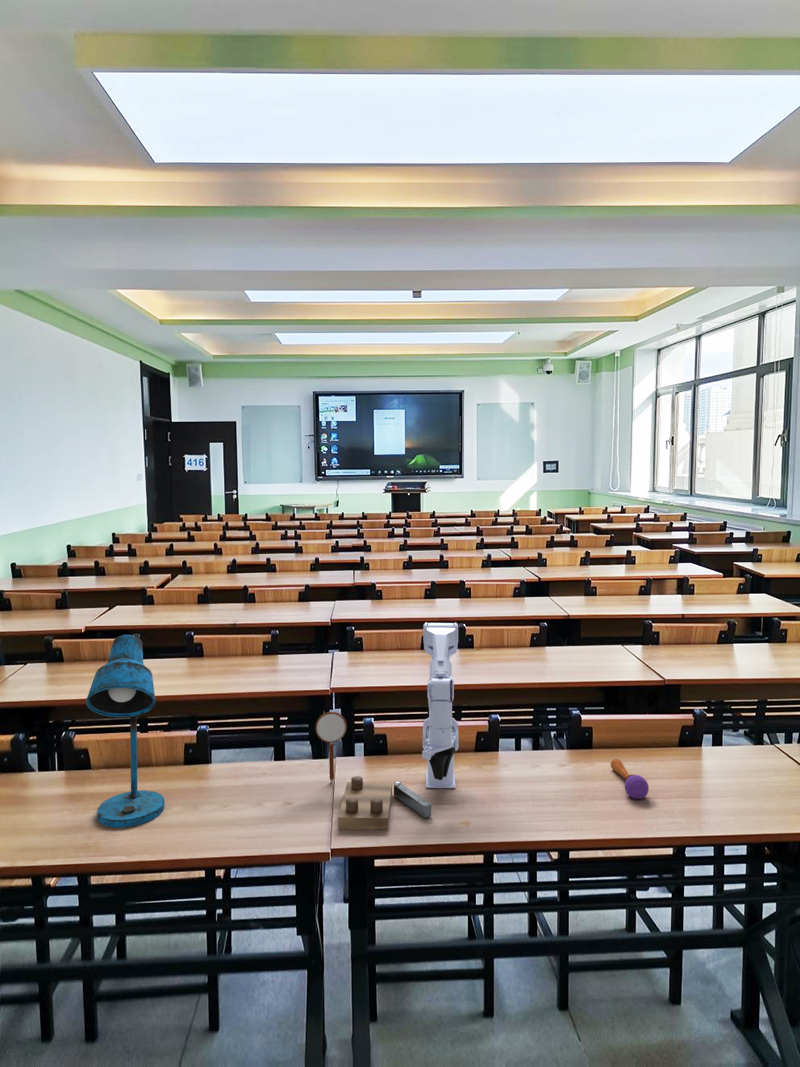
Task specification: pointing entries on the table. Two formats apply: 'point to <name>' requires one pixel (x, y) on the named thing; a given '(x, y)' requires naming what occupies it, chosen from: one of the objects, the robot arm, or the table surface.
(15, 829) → the table surface
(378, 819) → the stool seat
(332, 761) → the magnifying glass
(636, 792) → the purple mallet
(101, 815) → the desk lamp
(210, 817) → the table surface
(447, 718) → the robot arm
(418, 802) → the hinged leg
